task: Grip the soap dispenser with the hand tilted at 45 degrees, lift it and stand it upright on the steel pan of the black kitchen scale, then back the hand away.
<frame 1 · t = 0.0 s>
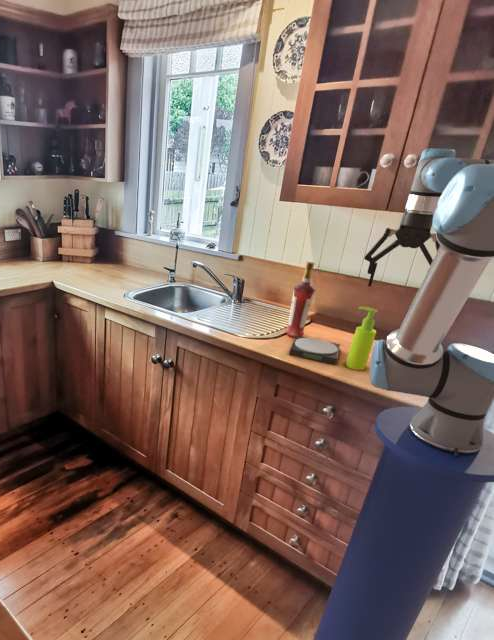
hand: (395, 289, 134), 29 cm above the worktop, tool pointing down, fingers open, 13 cm apart
liquor: (293, 336, 178), on the worktop
kitchen scale: (314, 352, 164), on the worktop
soap dispenser: (353, 366, 155), on the worktop
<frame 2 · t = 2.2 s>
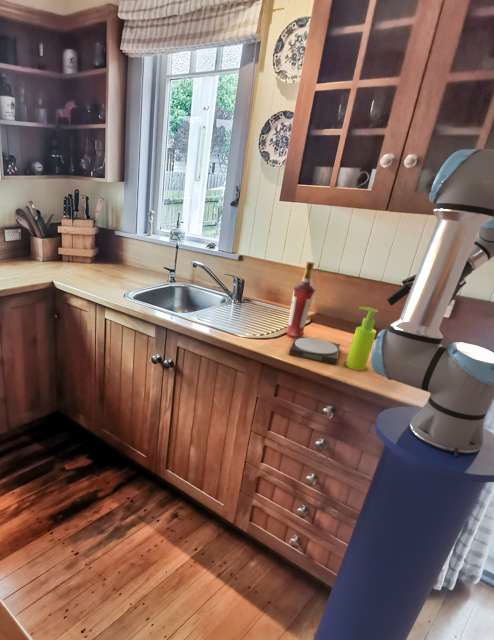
hand: (401, 309, 146), 20 cm above the worktop, tool tilted 45°, fingers open, 13 cm apart
nothing on the worktop moved.
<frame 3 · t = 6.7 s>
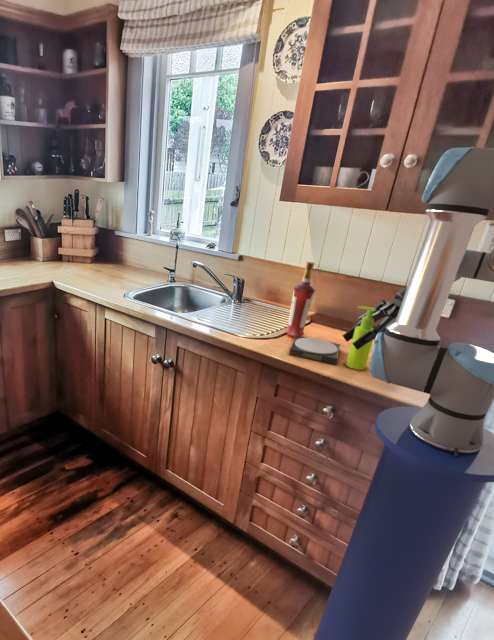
hand: (349, 342, 151), 8 cm above the worktop, tool tilted 45°, fingers closed on soap dispenser, 6 cm apart
soap dispenser: (353, 366, 155), on the worktop, touching gripper
everything else where it was.
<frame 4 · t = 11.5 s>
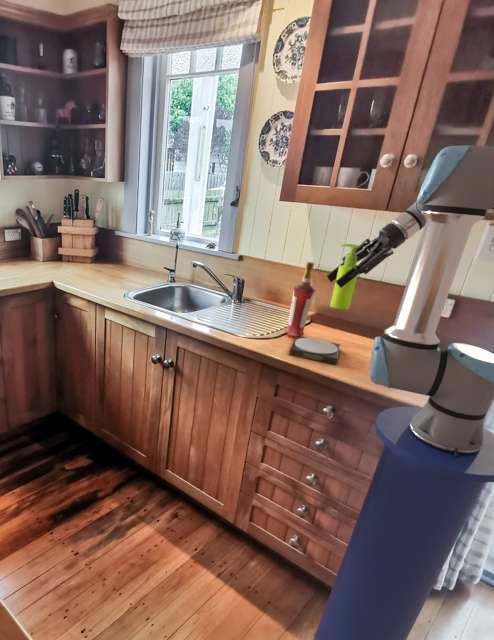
hand: (333, 281, 150), 26 cm above the worktop, tool tilted 45°, fingers closed on soap dispenser, 6 cm apart
soap dispenser: (337, 307, 154), point 18 cm above the worktop, touching gripper
everything else where it was.
when the fingers open (11 cm above the worktop, at t = 16.2 s): soap dispenser stays where it is, resting on kitchen scale.
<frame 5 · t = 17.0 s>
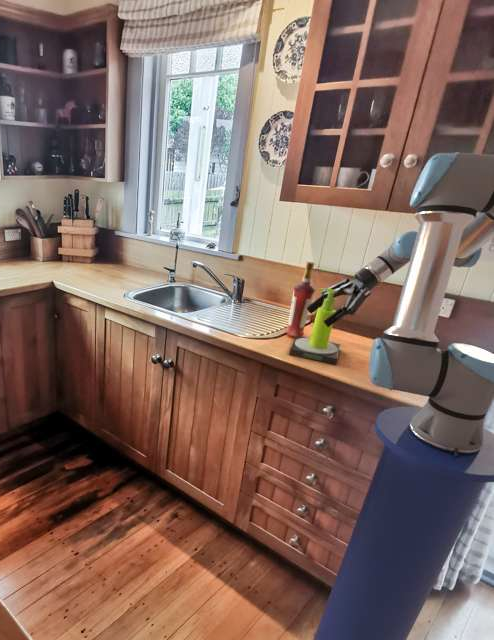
hand: (316, 317, 158), 13 cm above the worktop, tool tilted 45°, fingers open, 13 cm apart
soap dispenser: (316, 345, 163), point 3 cm above the worktop, touching kitchen scale
everything else where it was.
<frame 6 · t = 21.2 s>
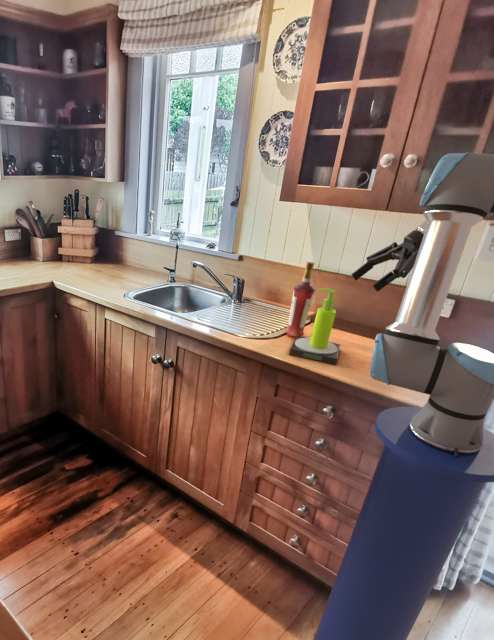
hand: (363, 282, 153), 25 cm above the worktop, tool tilted 45°, fingers open, 13 cm apart
nothing on the worktop moved.
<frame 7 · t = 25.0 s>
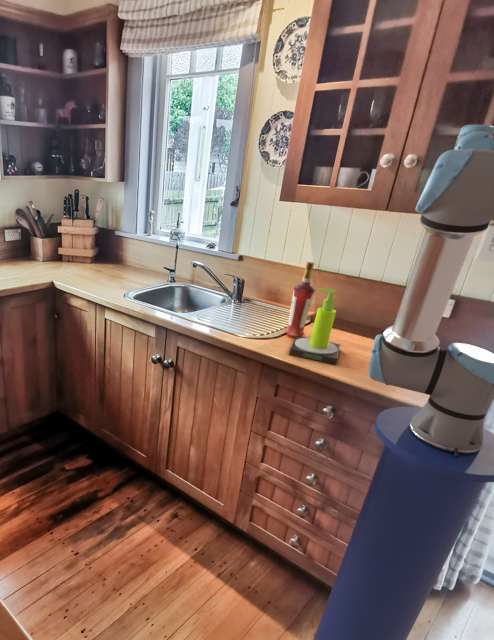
hand: (430, 266, 136), 35 cm above the worktop, tool pointing down, fingers open, 13 cm apart
nothing on the worktop moved.
at the end: soap dispenser inside the target area on the kitchen scale (0.1 cm from its centre), point 2.5 cm above the kitchen scale's base; soap dispenser tilted 0°; the gripper is holding nothing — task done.
